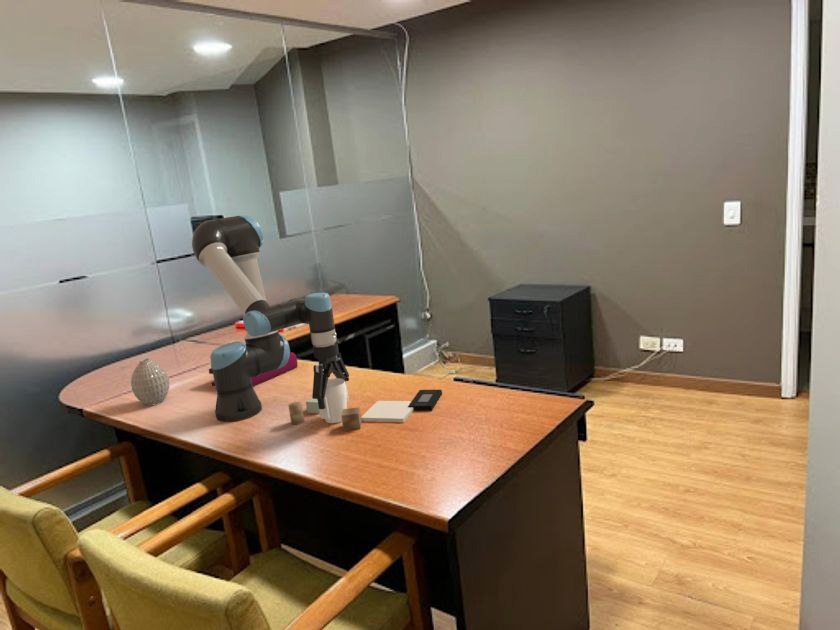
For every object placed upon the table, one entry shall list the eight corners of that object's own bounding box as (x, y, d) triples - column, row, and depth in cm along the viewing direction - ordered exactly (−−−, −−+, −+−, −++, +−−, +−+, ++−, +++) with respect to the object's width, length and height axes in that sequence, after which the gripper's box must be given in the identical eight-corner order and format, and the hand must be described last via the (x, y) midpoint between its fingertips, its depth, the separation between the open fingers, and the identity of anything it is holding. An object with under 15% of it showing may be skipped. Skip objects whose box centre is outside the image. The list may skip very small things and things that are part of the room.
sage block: (307, 413, 203) (305, 401, 202) (319, 405, 209) (317, 393, 208) (320, 414, 200) (318, 402, 200) (332, 406, 207) (330, 394, 206)
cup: (345, 424, 189) (339, 387, 186) (317, 425, 191) (311, 388, 188) (354, 413, 197) (349, 377, 195) (327, 414, 199) (322, 378, 197)
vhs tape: (408, 412, 194) (408, 406, 193) (420, 395, 207) (419, 389, 207) (432, 411, 192) (431, 405, 191) (442, 395, 205) (441, 389, 205)
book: (298, 368, 255) (295, 351, 253) (246, 392, 233) (242, 372, 231) (263, 364, 267) (260, 347, 265) (210, 386, 244) (206, 368, 243)
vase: (130, 405, 231) (120, 362, 228) (163, 394, 240) (154, 352, 237) (144, 411, 222) (135, 367, 219) (178, 399, 231) (169, 356, 228)
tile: (361, 421, 190) (360, 417, 190) (378, 404, 203) (378, 400, 202) (403, 422, 185) (403, 418, 185) (418, 404, 198) (418, 401, 198)
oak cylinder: (289, 424, 194) (286, 406, 193) (295, 419, 198) (292, 401, 196) (300, 425, 193) (297, 406, 191) (306, 419, 196) (303, 402, 195)
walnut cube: (343, 431, 184) (341, 415, 183) (345, 424, 189) (343, 409, 188) (360, 429, 184) (358, 413, 183) (361, 422, 189) (359, 407, 188)
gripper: (316, 355, 176) (327, 425, 180) (353, 332, 199) (362, 395, 203) (293, 356, 178) (305, 425, 183) (332, 333, 201) (341, 395, 206)
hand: (335, 409), depth 193 cm, fingers open, 13 cm apart
